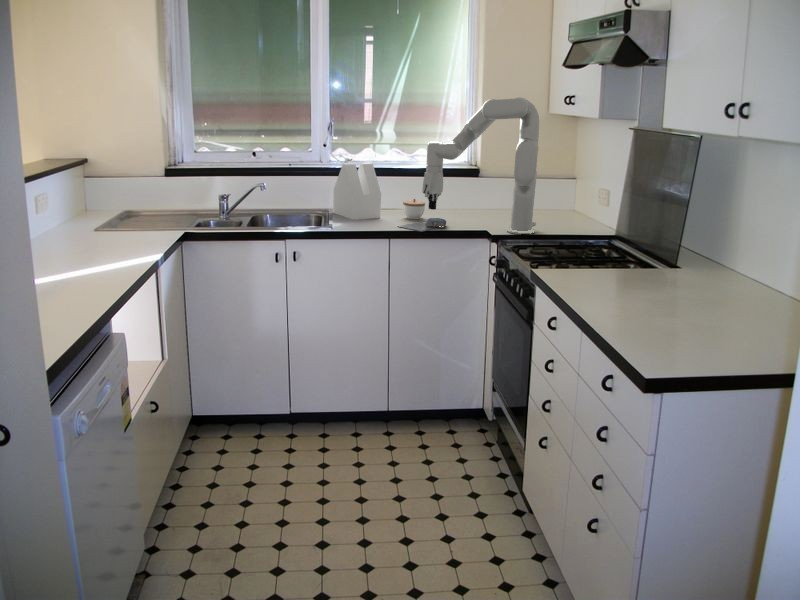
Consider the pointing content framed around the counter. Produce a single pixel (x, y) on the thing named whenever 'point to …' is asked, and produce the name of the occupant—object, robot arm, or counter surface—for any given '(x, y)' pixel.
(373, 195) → the grey notched block
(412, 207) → the lidded jar
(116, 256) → the counter surface
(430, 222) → the blue clover wallet
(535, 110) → the robot arm
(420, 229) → the slate board
